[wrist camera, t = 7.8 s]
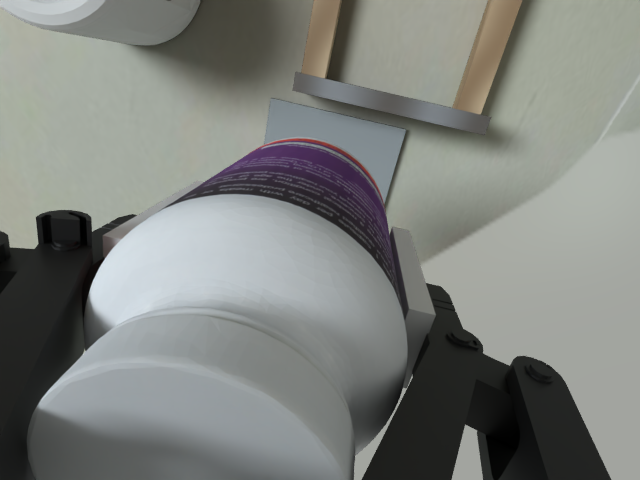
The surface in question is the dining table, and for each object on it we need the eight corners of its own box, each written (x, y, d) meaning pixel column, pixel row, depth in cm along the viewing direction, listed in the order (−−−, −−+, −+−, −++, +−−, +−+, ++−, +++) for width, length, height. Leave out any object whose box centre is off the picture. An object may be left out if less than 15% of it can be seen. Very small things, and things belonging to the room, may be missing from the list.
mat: (257, 196, 33) (256, 197, 33) (272, 98, 30) (270, 98, 30) (377, 225, 33) (377, 226, 33) (405, 129, 30) (406, 129, 30)
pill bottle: (225, 129, 18) (-146, 245, 5) (393, 138, 18) (486, 304, 4) (233, 276, 21) (17, 593, 8) (375, 290, 21) (397, 657, 7)
